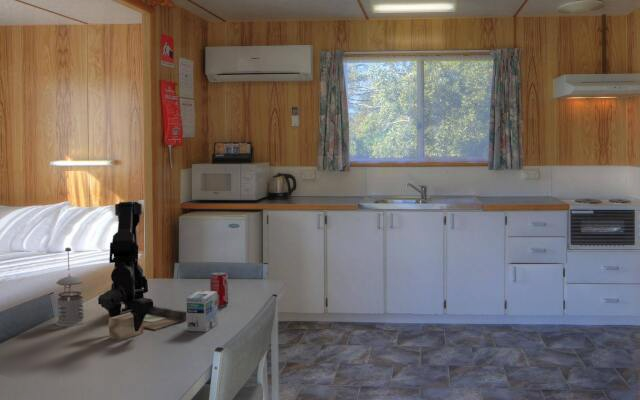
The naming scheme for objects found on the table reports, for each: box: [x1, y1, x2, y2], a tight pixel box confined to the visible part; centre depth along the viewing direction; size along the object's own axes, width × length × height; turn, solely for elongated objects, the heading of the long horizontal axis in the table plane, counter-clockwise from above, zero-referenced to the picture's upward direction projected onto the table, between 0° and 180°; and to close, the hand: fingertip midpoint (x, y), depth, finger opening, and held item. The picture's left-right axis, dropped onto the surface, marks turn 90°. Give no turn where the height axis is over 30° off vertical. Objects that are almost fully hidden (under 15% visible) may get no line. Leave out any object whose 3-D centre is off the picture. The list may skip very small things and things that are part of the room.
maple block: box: [108, 312, 144, 341], centre depth 209 cm, size 5×9×6 cm, turn 147°
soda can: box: [209, 271, 229, 308], centre depth 245 cm, size 6×6×12 cm
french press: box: [55, 247, 87, 328], centre depth 224 cm, size 10×12×25 cm
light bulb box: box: [186, 290, 219, 333], centre depth 217 cm, size 11×7×11 cm, turn 168°
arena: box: [120, 305, 187, 332], centre depth 225 cm, size 18×14×3 cm
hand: (126, 329), depth 209 cm, fingers open, 9 cm apart
